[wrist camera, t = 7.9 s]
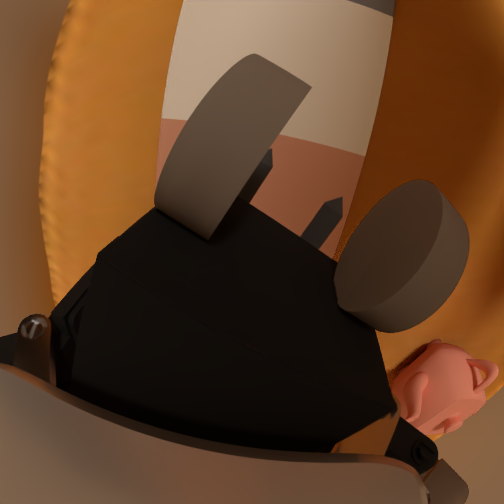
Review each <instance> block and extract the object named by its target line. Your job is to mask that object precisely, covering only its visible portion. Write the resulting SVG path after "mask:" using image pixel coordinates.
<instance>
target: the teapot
mask: <svg viewBox="0 0 504 504" xmlns="http://www.w3.org/2000/svg"><path fill="white" fill-rule="evenodd" d="M479 369H481V370H482V371H484V372H485V373H486V377H485V379H484V380H482V376H481V373H480V370H479ZM498 372H499V369H498V367H497V365H496V364H494V363H493V362H491V361H487V360H480V359H474V358H473V357H472V356H471V355H470V354H469V353H467V352H466V351H465V350H463V349H462V348H460V347H458V346H455V345H451V344H446V343H441V340H440V339H435V340H433V341H431V342H430V343H429V344H428V345H427V347H426V351H425V352H423V353H422V354H421V355H420V356H419V357H418V358H417V359H416V360H414V361H413V362H412V363H411V364H410V365H409V366H406V367H404V368H402V369H401V370H400V371H399V372H398V374H399V375H398V376H397V377H396V378H395V379H394V380H393V382H392V393H393V394H394V395H395V396H396V397H397V398H398V400H399V402H400V404H401V414H400V416H401V417H402V418H403V419H405V420H406V421H407V422H409V423H410V424H411V425H412V426H414V427H415V428H416V429H418V430H419V431H420V432H422V433H423V434H424V435H433V434H441V433H450V432H452V431H454V430H456V429H457V428H459V427H460V426H461V425H462V424H463V422H462V421H464V420H465V419H466V418H467V417H469V416H470V415H473V414H475V413H476V412H477V411H478V410H479V409H480V408H481V407H482V406H483V405H484V404H485V402H486V398H485V390H484V389H485V388H486V387H487V386H489V385H490V384H491V383H492V382H493V381H494V380H495V378H496V377H497V375H498Z"/></svg>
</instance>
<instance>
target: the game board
mask: <svg viewBox="0 0 504 504" xmlns="http://www.w3.org/2000/svg"><path fill="white" fill-rule="evenodd" d="M394 7H395V0H184V1H183V5H182V9H181V13H180V17H179V21H178V25H177V30H176V34H175V39H174V44H173V49H172V54H171V59H170V65H169V70H168V76H167V82H166V89H165V96H164V103H163V110H162V118H161V127H160V137H159V147H158V159H157V174H156V187H157V183H158V180H159V177H160V174H161V171H162V169H163V166H164V164H165V161H166V159H167V157H168V155H169V153H170V151H171V149H172V147H173V145H174V143H175V141H176V139H177V137H178V135H179V134H180V132H181V130H182V129H183V127H184V125H185V124H186V122H187V120H188V119H189V117H190V116H191V114H192V113H193V111H194V110H195V108H196V107H197V106H198V104H199V103H200V101H201V100H202V99H203V98H204V96H205V95H206V94H207V92H208V91H209V90H210V89H211V88H212V86H213V85H214V84H215V83H216V82H217V81H218V80H219V79H220V78H221V77H222V76H223V75H224V74H225V73H226V72H227V71H228V70H229V69H230V68H231V67H232V66H233V65H234V64H236V63H237V62H238V61H240V60H241V59H242V58H244V57H246V56H248V55H250V54H258V55H260V56H262V57H264V58H265V59H267V60H269V61H271V62H272V63H274V64H276V65H278V66H279V67H281V68H283V69H284V70H286V71H288V72H289V73H291V74H293V75H294V76H296V77H297V78H299V79H301V80H302V81H304V82H305V83H307V84H308V85H310V86H311V87H312V88H311V90H310V91H309V93H308V94H307V95H306V97H305V98H304V100H303V101H302V102H301V104H300V105H299V107H298V108H297V110H296V111H295V112H294V114H293V115H292V117H291V118H290V119H289V121H288V122H287V124H286V125H285V127H284V128H283V129H282V131H281V132H280V134H279V135H278V137H277V138H276V139H275V141H274V142H273V144H272V145H271V147H270V148H269V149H271V148H272V156H273V168H272V169H271V171H270V172H269V174H268V175H267V177H266V178H265V180H264V182H263V183H262V185H261V186H260V188H259V189H258V191H257V192H256V194H255V195H254V197H253V199H252V200H251V202H250V204H251V205H253V206H254V207H256V208H257V209H259V210H260V211H262V212H263V213H265V214H267V215H268V216H270V217H271V218H273V219H274V220H276V221H277V222H279V223H280V224H282V225H283V226H285V227H286V228H288V229H289V230H291V231H292V232H294V233H295V234H297V235H298V236H301V235H302V233H303V232H304V230H305V229H306V228H307V226H308V225H309V223H310V222H311V221H312V219H313V218H314V216H315V215H316V214H317V212H318V211H319V209H320V208H321V207H322V205H323V204H324V202H326V201H330V200H333V199H336V198H339V197H342V196H343V217H342V219H341V220H340V222H339V223H338V224H337V226H336V227H335V228H334V230H333V231H332V233H331V234H330V235H329V237H328V238H327V239H326V241H325V242H324V243H323V245H322V246H321V247H320V249H319V250H320V251H321V252H323V253H324V254H326V255H327V256H329V257H330V258H331V259H333V257H334V254H335V251H336V248H337V245H338V243H339V240H340V237H341V234H342V231H343V228H344V225H345V222H346V219H347V216H348V213H349V210H350V207H351V203H352V200H353V197H354V194H355V190H356V187H357V184H358V180H359V177H360V173H361V170H362V166H363V163H364V159H365V156H366V152H367V148H368V144H369V140H370V136H371V133H372V128H373V124H374V120H375V116H376V112H377V107H378V103H379V98H380V93H381V89H382V84H383V79H384V74H385V68H386V63H387V57H388V51H389V45H390V38H391V31H392V24H393V16H394Z"/></svg>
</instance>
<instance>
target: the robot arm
mask: <svg viewBox="0 0 504 504" xmlns="http://www.w3.org/2000/svg"><path fill="white" fill-rule="evenodd" d="M94 265H95V264H94ZM94 265H93V266H92V267H91V268H90V269H89V270H88V271H87V272H86V273H85V274H84V275H83V276H82V278H81V279H80V280H79V281H78V282H77V283H76V284H75V285H74V286H73V288H72V289H71V290H70V291H69V292H68V293H67V294H66V296H65V297H64V298H63V299H62V300H61V301H60V303H59V304H58V305H57V306H56V307H55V308H54V310H53V311H52V312H51V315H50V317H49V318H48V317H46V316H45V315H43V314H32V315H29V316H28V317H26V318H24V319H23V320H22V321H21V323H20V324H19V327H18V331H17V333H14V334H10V335H7V336H3V337H0V504H464V503H465V502H466V500H467V498H468V494H469V489H468V485H467V484H466V483H465V481H464V480H463V479H462V478H461V477H460V476H459V475H458V474H457V473H456V472H455V471H454V470H453V469H452V468H451V467H450V466H449V465H448V464H447V463H446V462H445V461H444V460H443V459H440V460H438V450H437V447H436V445H435V443H434V442H433V441H432V440H431V439H430V438H428V437H427V436H426V435H424V434H423V433H422V432H420V431H419V430H418V429H416V428H415V427H414V426H412V425H411V424H410V423H409V422H407V421H406V420H405V419H403V418H402V417H401V416H400V414H401V404H400V402H399V400H398V398H397V397H396V396H395V395H394V394H393V393H392V395H393V399H394V402H395V406H396V409H395V410H394V411H392V412H390V413H389V414H387V415H386V416H384V417H382V418H381V419H379V420H378V421H376V422H374V423H373V424H371V425H369V426H368V427H366V428H364V429H362V430H361V431H359V432H357V433H355V434H354V435H352V436H350V437H348V438H346V439H344V440H342V441H340V442H338V443H337V444H335V445H333V446H330V447H328V448H326V449H324V450H322V451H320V452H318V453H312V452H293V451H279V450H268V449H259V448H251V447H244V446H237V445H231V444H225V443H220V442H214V441H209V440H204V439H200V438H195V437H191V436H187V435H183V434H179V433H175V432H171V431H167V430H164V429H160V428H157V427H154V426H150V425H147V424H144V423H141V422H138V421H135V420H132V419H129V418H127V417H124V416H121V415H118V414H116V413H113V412H110V411H108V410H105V409H103V408H100V407H98V406H96V405H93V404H91V403H89V402H86V401H84V400H82V399H80V398H78V397H76V396H73V395H71V394H70V386H71V377H72V369H73V362H74V355H75V349H76V343H77V337H78V332H79V326H80V322H81V317H82V312H83V308H84V303H85V299H86V295H87V291H88V287H89V283H90V279H91V276H92V272H93V269H94Z"/></svg>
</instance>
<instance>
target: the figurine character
mask: <svg viewBox="0 0 504 504" xmlns="http://www.w3.org/2000/svg"><path fill="white" fill-rule="evenodd" d="M311 88H312V87H311V86H310V85H308V84H307V83H305V82H304V81H302V80H301V79H299V78H297V77H296V76H294V75H293V74H291V73H289V72H288V71H286V70H284V69H283V68H281V67H279V66H278V65H276V64H274V63H272V62H271V61H269V60H267V59H265V58H264V57H262V56H260V55H258V54H250V55H248V56H246V57H244V58H242V59H241V60H240V61H238V62H237V63H236V64H234V65H233V66H232V67H231V68H230V69H229V70H228V71H227V72H226V73H225V74H224V75H223V76H222V77H221V78H220V79H219V80H218V81H217V82H216V83H215V84H214V85H213V86H212V88H211V89H210V90H209V91H208V92H207V94H206V95H205V96H204V98H203V99H202V100H201V101H200V103H199V104H198V106H197V107H196V108H195V110H194V111H193V113H192V114H191V116H190V117H189V119H188V120H187V122H186V124H185V125H184V127H183V129H182V130H181V132H180V134H179V135H178V137H177V139H176V141H175V143H174V145H173V147H172V149H171V151H170V153H169V155H168V157H167V159H166V161H165V164H164V166H163V169H162V171H161V174H160V177H159V180H158V183H157V187H156V191H155V197H154V204H155V207H154V208H152V209H151V210H150V211H149V212H148V213H146V214H145V215H144V216H143V217H141V218H140V219H139V220H138V221H137V222H136V223H134V224H133V225H132V226H131V227H130V228H128V229H127V230H126V231H125V232H124V233H123V234H122V235H120V236H118V237H117V238H116V239H114V240H113V241H112V242H111V243H109V244H108V245H107V246H106V247H105V248H103V249H102V250H101V251H100V252H99V253H98V255H97V258H96V262H95V265H94V269H93V272H92V276H91V279H90V283H89V287H88V291H87V295H86V299H85V303H84V308H83V312H82V317H81V322H80V326H79V332H78V337H77V343H76V349H75V355H74V362H73V369H72V377H71V386H70V394H71V395H73V396H76V397H78V398H80V399H82V400H84V401H86V402H89V403H91V404H93V405H96V406H98V407H100V408H103V409H105V410H108V411H110V412H113V413H116V414H118V415H121V416H124V417H127V418H129V419H132V420H135V421H138V422H141V423H144V424H147V425H150V426H154V427H157V428H160V429H164V430H167V431H171V432H175V433H179V434H183V435H187V436H191V437H195V438H200V439H204V440H209V441H214V442H220V443H225V444H231V445H237V446H244V447H251V448H259V449H268V450H279V451H293V452H312V453H318V452H320V451H322V450H324V449H326V448H328V447H330V446H333V445H335V444H337V443H338V442H340V441H342V440H344V439H346V438H348V437H350V436H352V435H354V434H355V433H357V432H359V431H361V430H362V429H364V428H366V427H368V426H369V425H371V424H373V423H374V422H376V421H378V420H379V419H381V418H382V417H384V416H386V415H387V414H389V413H390V412H392V411H394V410H395V409H396V406H395V402H394V399H393V395H392V392H391V389H390V387H389V383H388V379H387V375H386V370H385V366H384V362H383V358H382V354H381V350H380V346H379V342H378V339H377V335H376V331H375V329H376V330H378V331H380V332H385V333H395V332H400V331H404V330H407V329H410V328H412V327H414V326H416V325H418V324H420V323H421V322H423V321H424V320H426V319H427V318H428V317H430V316H431V315H432V314H433V313H435V312H436V311H437V310H438V309H439V308H440V307H441V306H442V305H443V303H444V302H445V301H446V300H447V299H448V297H449V296H450V295H451V293H452V292H453V290H454V289H455V287H456V286H457V284H458V282H459V280H460V278H461V276H462V274H463V271H464V269H465V266H466V262H467V258H468V253H469V233H468V229H467V226H466V223H465V221H464V220H463V218H462V217H461V216H460V214H459V213H458V212H457V211H456V209H455V208H454V207H453V206H452V205H451V203H450V202H449V201H448V200H447V199H446V197H445V196H444V195H443V194H442V193H441V192H440V190H439V189H438V188H437V187H436V186H435V185H434V184H433V183H431V182H429V181H427V180H414V181H410V182H407V183H405V184H403V185H401V186H399V187H397V188H396V189H394V190H393V191H391V192H390V193H388V194H387V195H386V196H385V197H384V198H382V199H381V200H380V201H379V202H378V203H377V204H376V205H375V206H374V207H373V208H372V209H371V210H370V211H369V213H368V214H367V215H366V216H365V217H364V219H363V220H362V221H361V223H360V224H359V225H358V227H357V228H356V230H355V231H354V233H353V234H352V236H351V237H350V239H349V241H348V242H347V244H346V246H345V248H344V250H343V252H342V254H341V257H340V259H339V262H338V263H337V262H336V261H334V260H333V259H331V258H330V257H329V256H327V255H326V254H324V253H323V252H321V251H320V250H319V249H320V247H321V246H322V245H323V243H324V242H325V241H326V239H327V238H328V237H329V235H330V234H331V233H332V231H333V230H334V228H335V227H336V226H337V224H338V223H339V222H340V220H341V219H342V217H343V196H342V197H339V198H336V199H333V200H330V201H326V202H324V204H323V205H322V207H321V208H320V209H319V211H318V212H317V214H316V215H315V216H314V218H313V219H312V221H311V222H310V223H309V225H308V226H307V228H306V229H305V230H304V232H303V233H302V235H301V236H298V235H297V234H295V233H294V232H292V231H291V230H289V229H288V228H286V227H285V226H283V225H282V224H280V223H279V222H277V221H276V220H274V219H273V218H271V217H270V216H268V215H267V214H265V213H263V212H262V211H260V210H259V209H257V208H256V207H254V206H253V205H251V204H250V202H251V200H252V199H253V197H254V195H255V194H256V192H257V191H258V189H259V188H260V186H261V185H262V183H263V182H264V180H265V178H266V177H267V175H268V174H269V172H270V171H271V169H272V168H273V156H272V148H271V149H269V148H270V147H271V145H272V144H273V142H274V141H275V139H276V138H277V137H278V135H279V134H280V132H281V131H282V129H283V128H284V127H285V125H286V124H287V122H288V121H289V119H290V118H291V117H292V115H293V114H294V112H295V111H296V110H297V108H298V107H299V105H300V104H301V102H302V101H303V100H304V98H305V97H306V95H307V94H308V93H309V91H310V90H311Z"/></svg>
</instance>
